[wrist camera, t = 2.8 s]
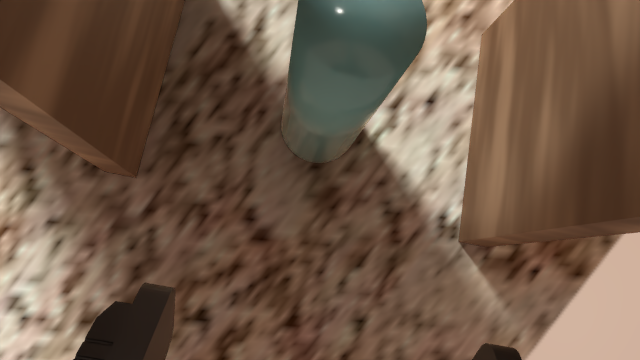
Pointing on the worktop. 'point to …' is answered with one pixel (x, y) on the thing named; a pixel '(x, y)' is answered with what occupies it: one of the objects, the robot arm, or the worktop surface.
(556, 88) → the walnut shelf
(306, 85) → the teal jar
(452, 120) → the worktop surface
